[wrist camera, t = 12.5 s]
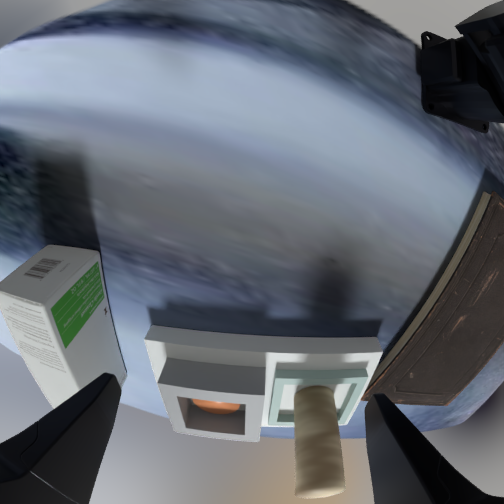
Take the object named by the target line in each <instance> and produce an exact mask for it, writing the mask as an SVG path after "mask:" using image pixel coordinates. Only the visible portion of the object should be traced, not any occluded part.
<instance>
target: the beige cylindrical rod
mask: <svg viewBox="0 0 504 504" xmlns="http://www.w3.org/2000/svg"><path fill="white" fill-rule="evenodd" d="M294 429H295V496H297V497H301V498H321V497H327V496H332V495H335V494H338V493H341V492H343V491H344V490H345V489H346V487H345V477H344V468H343V458H342V450H341V442H340V434H339V426H338V419H337V412H336V405H335V399H334V393H333V391H332V390H331V389H330V388H328V387H325V386H310V387H306V388H303V389H301V390H300V391H298V392H297V393H296V394H295V396H294Z"/></svg>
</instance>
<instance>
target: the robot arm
mask: <svg viewBox="0 0 504 504" xmlns="http://www.w3.org/2000/svg"><path fill="white" fill-rule="evenodd" d="M455 27H456V29H457V30H458V31H459V33H460V34H463V37H460V38H457V39H453V38H451V39H448V40H447V39H445V38H443V37H440V36H438V35H436V34H433V33H431V32H428V31H426V32H424V33H422V34H421V42H422V51H421V81H422V83H423V109H424V111H425V112H426V113H428V114H431V115H434V116H437V117H440V118H443V119H446V120H449V121H452V122H455V123H458V124H460V125H463V126H466V127H468V128H471V129H474V130H476V131H479V132H481V133H487V132H488V129H489V122H497V123H504V0H503V1H500V2H497V3H494V4H492V5H489V6H487V7H485V8H484V9H482V10H480V11H478V12H477V13H475V14H474V15H472V16H470V17H469V18H467V19H465V20H464V21H462V22H461V23H459V24H457V25H456V26H455ZM426 36H428V37H429V39H430V40H428V39H427V37H426ZM429 104H430V105H431V110H430V109H429V107H428V105H429ZM483 126H484V128H483ZM120 397H121V387H120V384H119V382H118V380H117V378H116V376H115V375H114V374H111V373H107V372H105V373H103V374H101V375H100V376H99V377H97V378H96V379H94V380H93V381H92V382H90V383H89V384H88V385H86V386H85V387H83V388H82V389H81V390H79V391H78V392H77V393H75V394H74V395H73V396H71V397H70V398H68V399H67V400H66V401H64V402H63V403H62V404H60V405H59V406H57V407H56V408H55V409H53V410H52V411H50V412H49V413H48V414H46V415H45V416H44V417H42V418H41V419H40V420H39V421H37V422H35V423H34V424H32V425H31V426H29V427H28V428H27V429H25V430H24V431H22V432H20V433H19V434H17V435H15V436H14V437H12V438H10V439H8V440H6V441H4V442H2V443H0V504H89V501H90V498H91V494H92V491H93V487H94V484H95V481H96V477H97V474H98V471H99V468H100V465H101V462H102V459H103V455H104V452H105V450H106V447H107V444H108V441H109V438H110V435H111V432H112V429H113V426H114V422H115V418H116V413H117V409H118V405H119V401H120ZM365 426H366V443H367V453H368V459H369V465H370V472H371V479H372V486H373V493H374V502H375V504H504V497H496V496H491V495H488V494H486V493H484V492H482V491H481V490H480V489H479V488H477V487H476V486H475V485H474V484H472V483H471V482H470V481H469V480H467V479H466V478H465V477H464V476H463V475H462V474H460V473H459V472H458V471H457V470H456V469H455V468H454V467H453V466H452V465H451V464H450V463H449V462H448V461H447V460H446V459H445V458H444V457H443V456H441V454H440V453H439V452H438V450H436V448H435V447H434V446H433V445H432V444H431V443H430V442H429V441H428V440H427V439H426V438H425V437H424V435H423V434H422V433H421V432H420V431H419V430H418V429H417V428H416V427H415V426H414V425H413V424H412V422H411V421H410V420H409V419H408V418H407V417H406V416H405V415H404V414H403V413H402V412H401V411H400V410H399V409H398V407H397V406H396V405H395V404H394V403H393V402H392V401H391V400H390V399H389V398H388V397H387V396H386V395H385V394H384V393H376V394H373V395H372V396H371V398H370V399H369V401H368V403H367V405H366V407H365Z"/></svg>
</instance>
